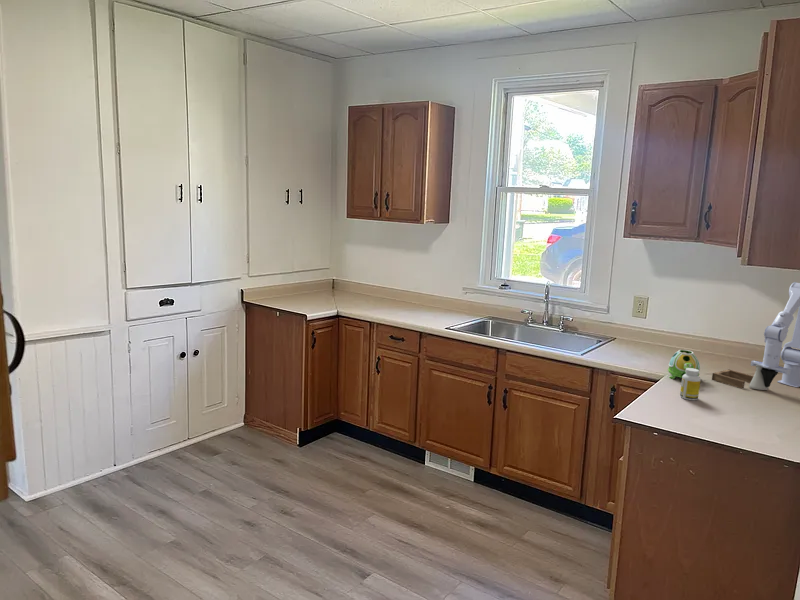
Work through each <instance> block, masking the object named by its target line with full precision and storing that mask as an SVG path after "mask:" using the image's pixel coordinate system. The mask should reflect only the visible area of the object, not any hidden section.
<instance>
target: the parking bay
mask: <svg viewBox="0 0 800 600" xmlns="http://www.w3.org/2000/svg"><path fill="white" fill-rule="evenodd" d="M753 376H754V375H752V374H747V373H744V372H741V371H740V372H739V371H737V370H733V369H730V368H729V369H728V368H727V369H725V370H721V371H717V372H713V373H712V375H711V381H714V382H718V383H722V384H725V385H729V386H732V387H736V388H738V389H742V390H743V389H745V385H746V384H745V383H749V384H750V383H751V381H752V379H753Z"/></svg>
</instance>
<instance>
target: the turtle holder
mask: <svg viewBox="0 0 800 600" xmlns="http://www.w3.org/2000/svg"><path fill="white" fill-rule="evenodd" d="M686 368H694V369H697V370H699V371H701V367H700V361H699V359H698V358H697V356H696V355H695V353H694V352H693V351H692V350H688V349H678V351H676V352H675V353H674V354H673V355H672V356H671V358H670V360H669V363H668V369H667V371H668V373H669V374H670V375H669V377H668V378H669V379H672V380H675V378H681V379H682V376H683V375H684V374H686V372H685V371H686ZM699 375H700V373H699V374H698V376H699ZM699 377H700V376H699Z"/></svg>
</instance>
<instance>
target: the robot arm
mask: <svg viewBox="0 0 800 600" xmlns="http://www.w3.org/2000/svg"><path fill="white" fill-rule="evenodd" d="M788 296H789V299H788V300H787V302H786V305H785V307H784V308H783V310H782V311H779V312H778V314H777V315H776V317H775V318H774V320H773V321H772V323H771V325H767V326H766V327H765V329H764V332H763V335H764V336H763V337H764V343H765V346H764V351H763V353H764V354H763V358H762V361H757V360H754V359H753V360H750V366H751V367H756V364H757V365H759V366H761V367H763V368H762V370H761V373H762V375H763V379H764V385H765V387H768V388H769V387H770V386H771V384H772V383H773V382H772V381H773V380H774V378H775V377H776V376H777V375H778V374H779V373H780V374H782V375H781V379H780V380H777V381H776V382H777V383H779V384H783V385H786V386H790V387H794V388H799V387H800V282H796V281H794V282H792V283H791V285H790V286H789V289H788ZM797 310H798V311H797ZM796 311H797V316H796V319H795V323H794V328H793V333H792V338H791V341H788V342H785V343H784V345H783V342H784V341H785V340H786V339H787V337H788V333H789V327H790V326H791V324H792V322H793V321H794V314H795V312H796ZM782 347H783V348H782ZM780 359H781V360H782V363H784V364H783V366H782V365H780Z"/></svg>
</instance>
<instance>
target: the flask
mask: <svg viewBox="0 0 800 600" xmlns="http://www.w3.org/2000/svg"><path fill="white" fill-rule="evenodd" d="M762 368H763V367H761V366H759V365H757V364H756V366H755V372H754V374H753V375H752V376H753V379H752V381H751V383H749V384H748V387H749V388H750V389H753V390H754V389H755V390H760V391H762V390H764V391H765V390H769V389H770V388H769V387H765V385H764V379H763V375H762V373H761V370H762Z"/></svg>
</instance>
